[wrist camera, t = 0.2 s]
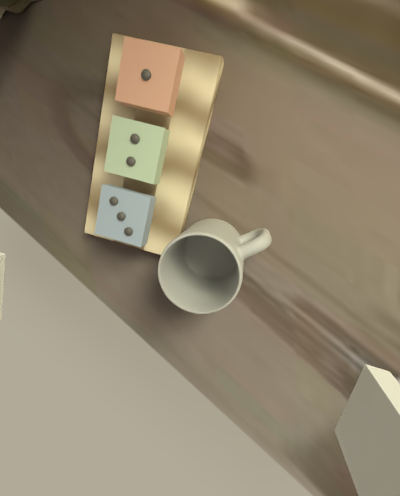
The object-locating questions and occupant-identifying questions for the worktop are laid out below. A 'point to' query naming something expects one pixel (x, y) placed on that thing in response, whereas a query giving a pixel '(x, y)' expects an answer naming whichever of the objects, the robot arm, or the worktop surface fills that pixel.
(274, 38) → the worktop surface
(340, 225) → the worktop surface
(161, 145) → the sage tile
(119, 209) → the blue tile
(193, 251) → the mug
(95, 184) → the board
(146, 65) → the terracotta tile
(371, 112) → the worktop surface
